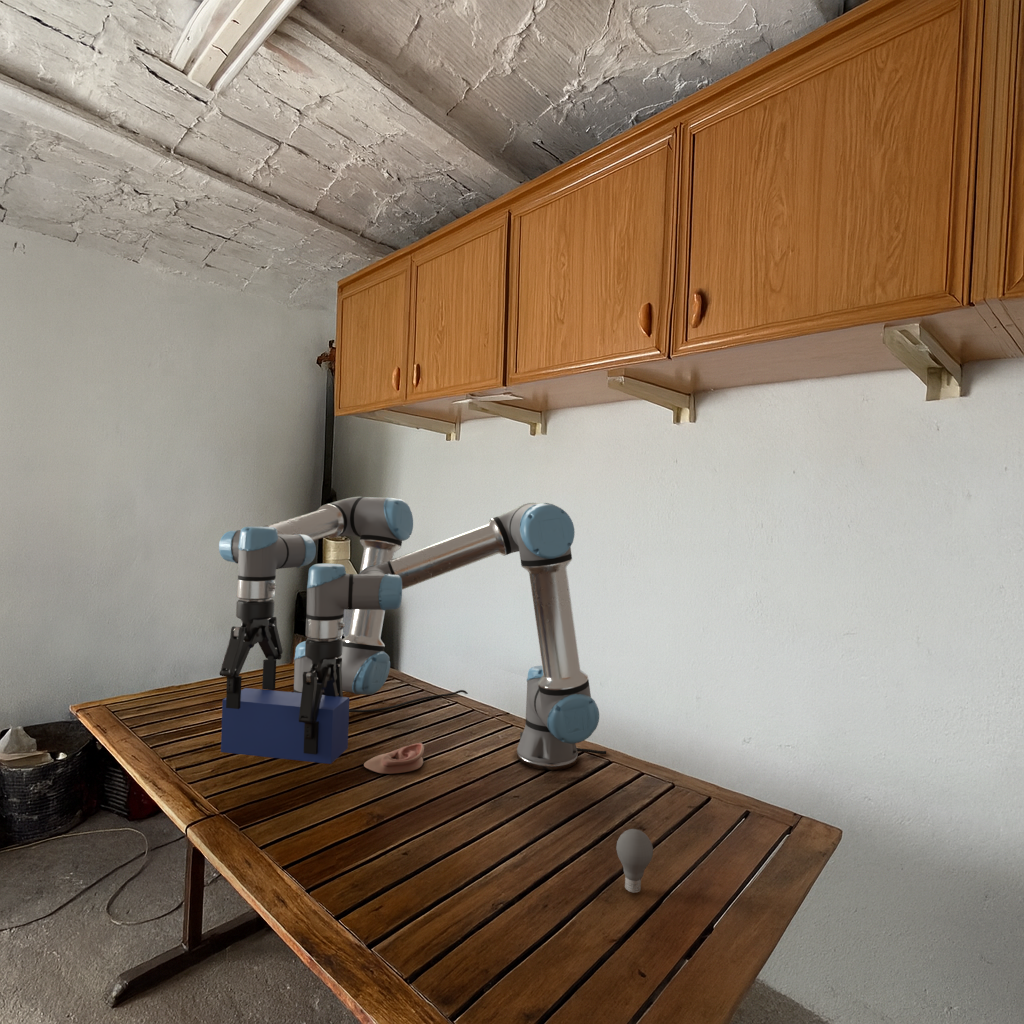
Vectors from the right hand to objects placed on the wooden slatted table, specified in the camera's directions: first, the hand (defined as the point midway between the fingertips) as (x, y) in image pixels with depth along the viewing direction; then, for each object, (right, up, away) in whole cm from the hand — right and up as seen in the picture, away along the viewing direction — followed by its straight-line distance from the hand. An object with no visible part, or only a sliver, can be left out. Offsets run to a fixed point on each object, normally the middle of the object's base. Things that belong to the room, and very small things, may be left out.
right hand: (320, 744), depth 133 cm
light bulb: (+60, -14, -28) cm, 68 cm away
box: (-8, -2, +1) cm, 8 cm away
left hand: (-15, +9, +2) cm, 18 cm away
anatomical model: (+12, -11, +18) cm, 24 cm away
